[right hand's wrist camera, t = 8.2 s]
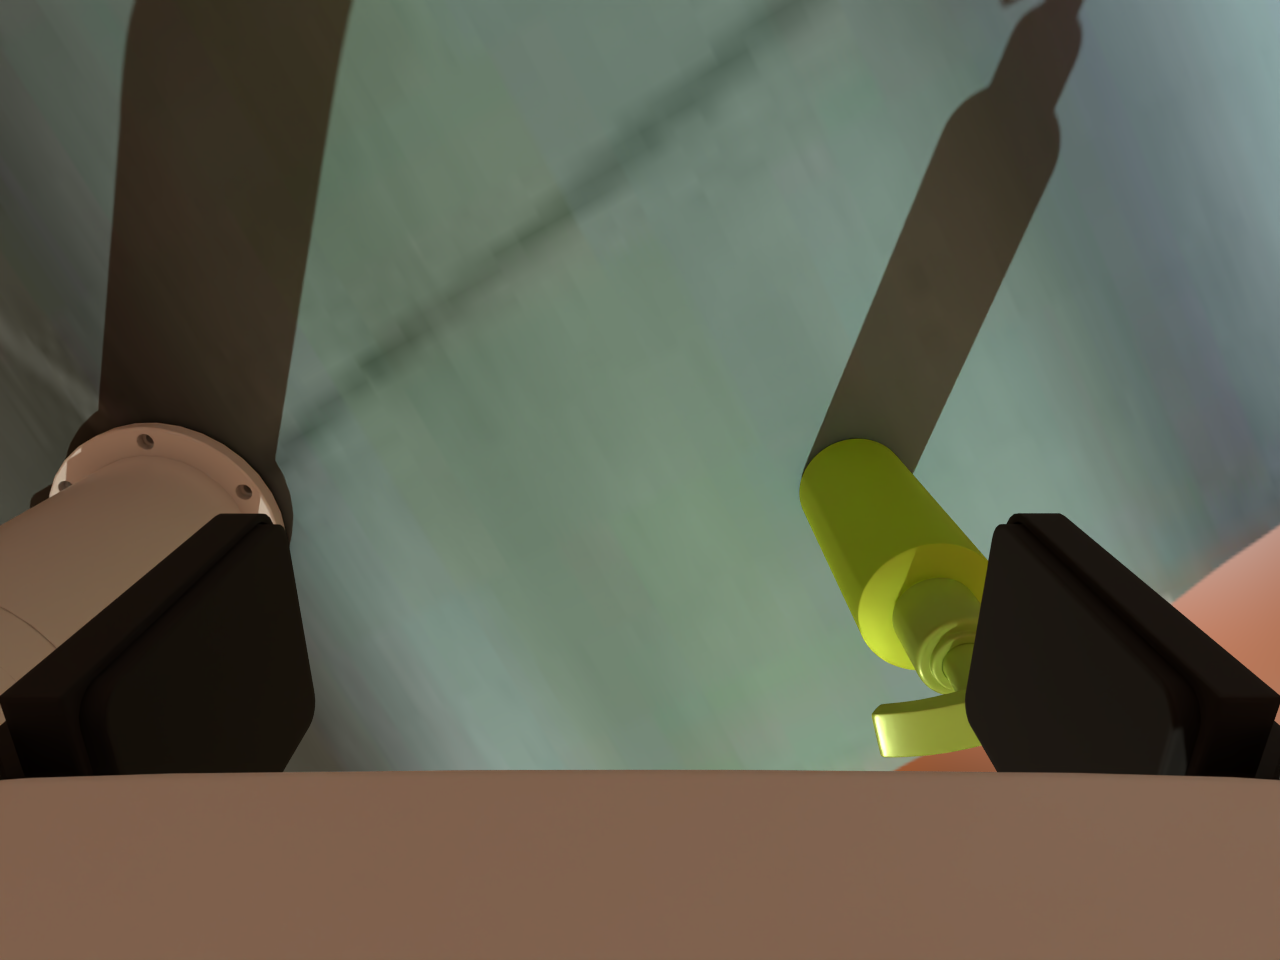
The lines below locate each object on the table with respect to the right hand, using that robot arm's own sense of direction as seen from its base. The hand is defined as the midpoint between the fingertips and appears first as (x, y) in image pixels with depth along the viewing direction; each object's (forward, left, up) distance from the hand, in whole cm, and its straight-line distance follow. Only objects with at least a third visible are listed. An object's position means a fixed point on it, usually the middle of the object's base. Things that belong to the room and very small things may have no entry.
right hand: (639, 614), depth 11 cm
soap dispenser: (+4, -15, -33) cm, 36 cm away
